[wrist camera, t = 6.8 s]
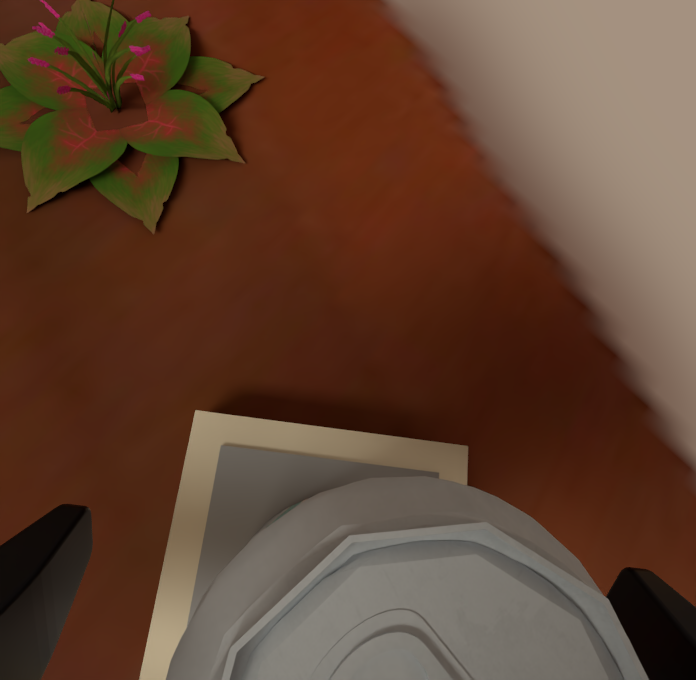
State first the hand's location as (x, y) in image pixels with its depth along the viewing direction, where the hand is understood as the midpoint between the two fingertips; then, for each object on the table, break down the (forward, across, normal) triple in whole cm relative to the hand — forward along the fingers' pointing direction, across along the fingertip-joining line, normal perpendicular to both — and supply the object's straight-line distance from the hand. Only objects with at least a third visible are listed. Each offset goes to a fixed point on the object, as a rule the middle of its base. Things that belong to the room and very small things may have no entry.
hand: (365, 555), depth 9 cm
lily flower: (+18, +10, -4) cm, 21 cm away
